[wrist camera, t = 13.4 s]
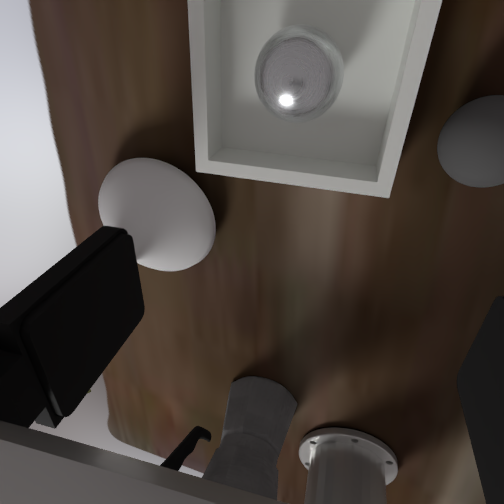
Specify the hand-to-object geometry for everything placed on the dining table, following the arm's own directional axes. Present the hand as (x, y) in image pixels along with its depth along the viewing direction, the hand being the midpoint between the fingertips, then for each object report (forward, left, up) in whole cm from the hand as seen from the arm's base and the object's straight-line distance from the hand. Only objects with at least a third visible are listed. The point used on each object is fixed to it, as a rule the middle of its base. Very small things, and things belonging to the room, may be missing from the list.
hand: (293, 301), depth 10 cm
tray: (+3, +3, -21) cm, 22 cm away
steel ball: (+3, +3, -18) cm, 18 cm away
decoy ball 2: (0, -9, -18) cm, 21 cm away
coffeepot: (-35, +5, -21) cm, 41 cm away
